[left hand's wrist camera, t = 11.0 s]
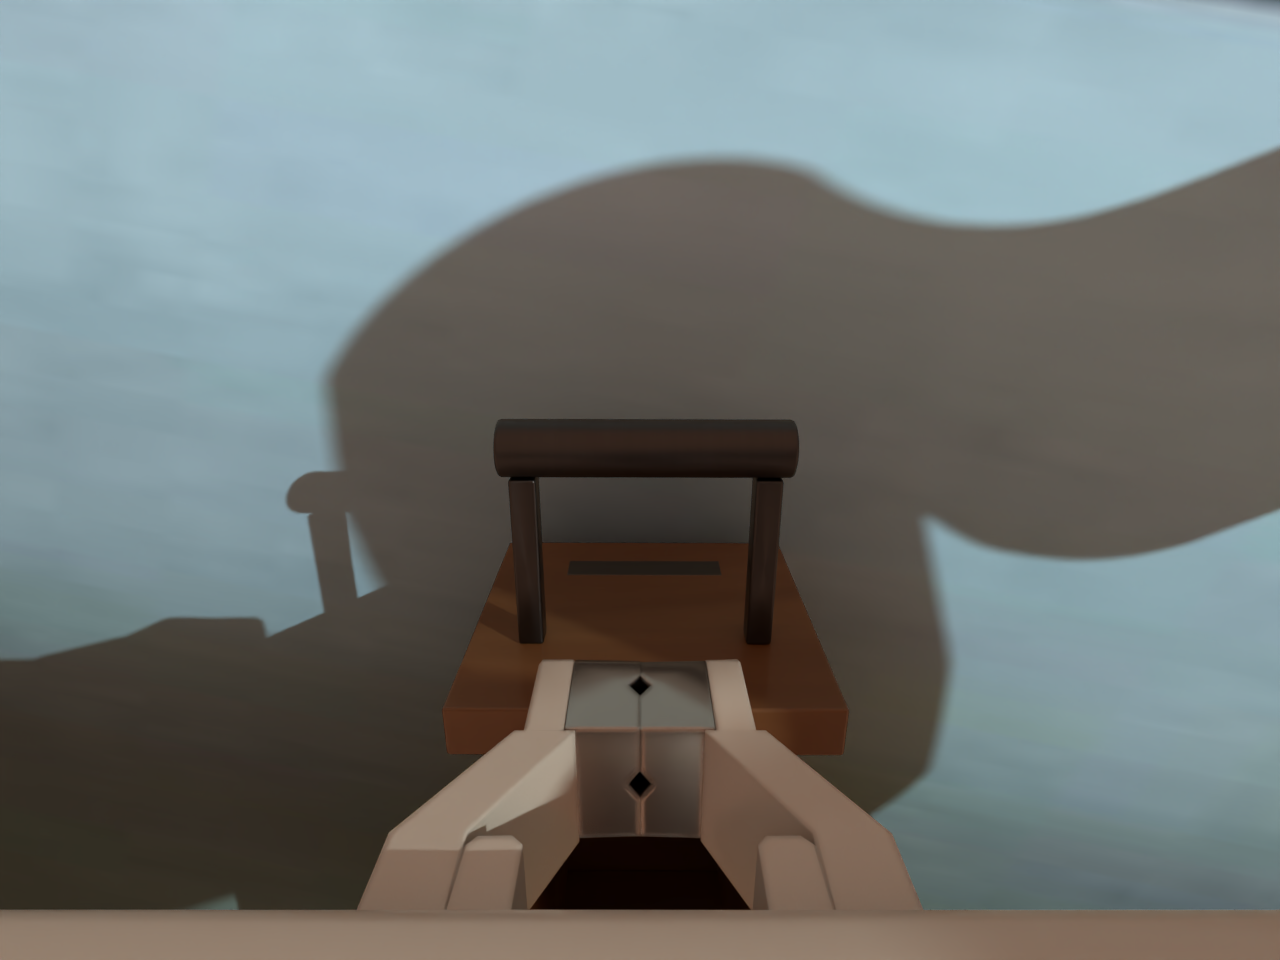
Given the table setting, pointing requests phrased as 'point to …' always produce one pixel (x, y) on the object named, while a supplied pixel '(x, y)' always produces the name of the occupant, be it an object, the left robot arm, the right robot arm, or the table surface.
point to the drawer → (645, 624)
